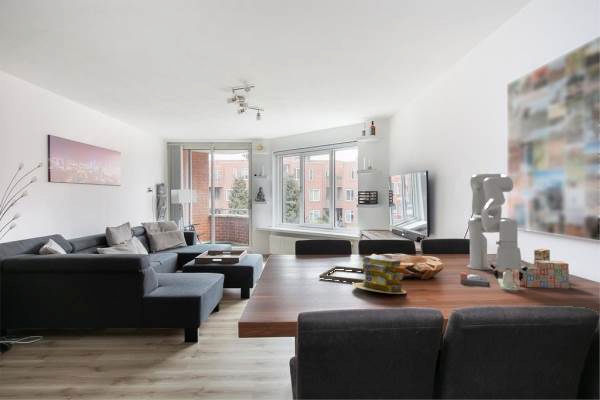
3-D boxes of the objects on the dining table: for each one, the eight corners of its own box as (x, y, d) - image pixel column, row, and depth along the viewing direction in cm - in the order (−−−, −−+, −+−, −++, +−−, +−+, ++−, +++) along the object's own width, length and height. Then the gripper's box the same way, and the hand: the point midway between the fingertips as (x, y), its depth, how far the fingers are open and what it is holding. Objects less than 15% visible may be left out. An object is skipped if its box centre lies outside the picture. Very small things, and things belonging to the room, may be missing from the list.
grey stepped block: (460, 278, 179) (460, 268, 179) (486, 280, 174) (485, 270, 174) (460, 283, 168) (460, 272, 168) (487, 286, 163) (487, 275, 163)
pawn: (501, 284, 165) (501, 266, 165) (513, 285, 163) (513, 267, 163) (502, 287, 160) (502, 268, 160) (515, 288, 158) (515, 269, 158)
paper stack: (375, 282, 173) (375, 250, 173) (417, 292, 153) (417, 257, 153) (341, 290, 158) (341, 255, 158) (383, 303, 138) (382, 263, 138)
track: (497, 279, 177) (497, 278, 177) (511, 280, 174) (511, 279, 174) (501, 289, 158) (501, 288, 158) (517, 290, 155) (517, 289, 155)
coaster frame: (335, 270, 202) (335, 265, 202) (378, 274, 191) (378, 269, 191) (319, 279, 179) (319, 275, 179) (366, 285, 167) (366, 280, 167)
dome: (466, 278, 175) (466, 273, 175) (480, 279, 173) (480, 274, 173) (466, 281, 170) (466, 276, 170) (480, 282, 167) (480, 277, 167)
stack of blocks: (519, 286, 163) (519, 261, 163) (514, 283, 169) (514, 259, 169) (568, 288, 159) (568, 263, 159) (561, 285, 165) (561, 260, 165)
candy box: (542, 279, 175) (542, 251, 175) (533, 278, 179) (533, 249, 179) (550, 277, 180) (550, 249, 180) (541, 275, 184) (541, 248, 184)
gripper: (488, 244, 162) (488, 279, 162) (531, 246, 154) (531, 283, 154) (487, 242, 168) (487, 275, 168) (528, 244, 161) (528, 279, 161)
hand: (508, 279), depth 161 cm, fingers open, 9 cm apart
